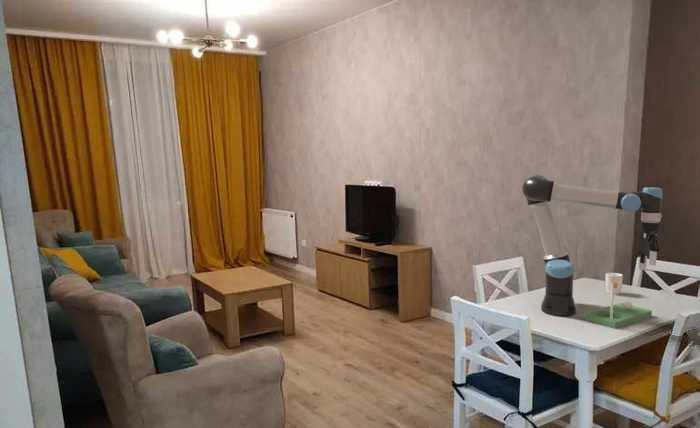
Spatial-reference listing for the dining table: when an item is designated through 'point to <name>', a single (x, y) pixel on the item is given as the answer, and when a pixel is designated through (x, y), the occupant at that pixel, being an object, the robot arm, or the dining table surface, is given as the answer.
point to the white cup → (613, 279)
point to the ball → (627, 305)
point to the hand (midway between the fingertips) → (647, 267)
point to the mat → (617, 315)
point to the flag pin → (613, 285)
